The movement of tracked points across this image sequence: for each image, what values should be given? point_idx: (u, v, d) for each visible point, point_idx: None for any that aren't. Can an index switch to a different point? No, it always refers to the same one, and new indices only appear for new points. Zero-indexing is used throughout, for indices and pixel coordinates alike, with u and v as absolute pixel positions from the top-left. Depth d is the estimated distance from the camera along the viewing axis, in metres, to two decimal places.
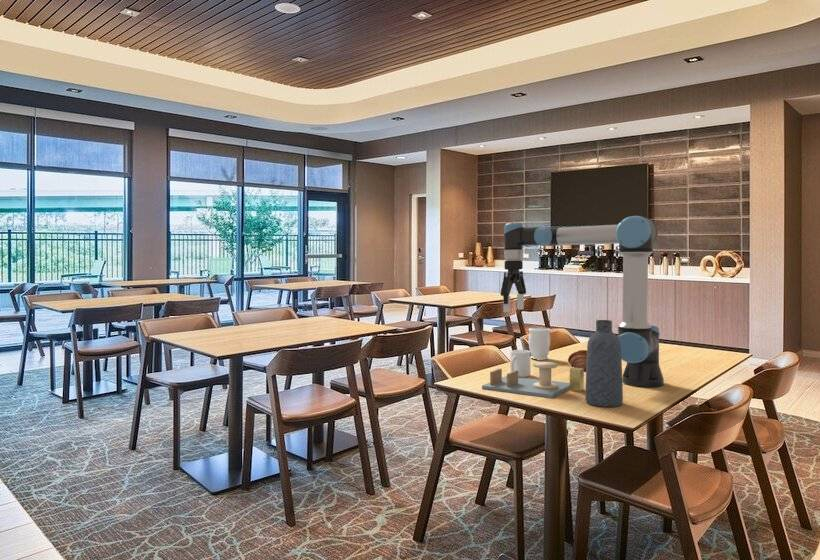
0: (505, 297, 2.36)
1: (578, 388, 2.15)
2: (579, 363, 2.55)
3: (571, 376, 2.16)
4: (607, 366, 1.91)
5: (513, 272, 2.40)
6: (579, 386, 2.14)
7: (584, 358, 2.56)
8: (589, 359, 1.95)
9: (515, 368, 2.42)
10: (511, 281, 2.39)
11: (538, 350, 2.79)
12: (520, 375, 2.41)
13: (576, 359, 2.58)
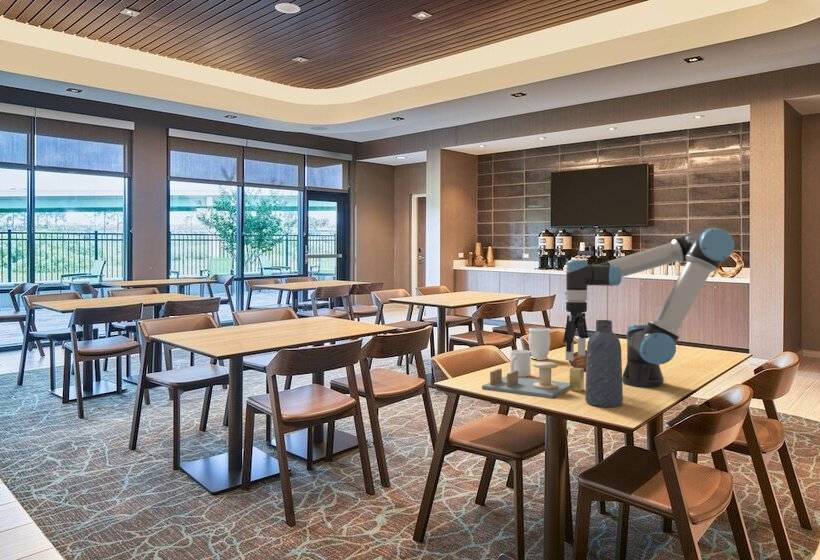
0: (568, 344, 2.09)
1: (578, 388, 2.15)
2: (579, 363, 2.54)
3: (571, 376, 2.16)
4: (607, 366, 1.91)
5: (577, 315, 2.13)
6: (579, 386, 2.14)
7: (584, 358, 2.55)
8: (589, 359, 1.95)
9: (515, 368, 2.42)
10: (574, 325, 2.12)
11: (538, 350, 2.79)
12: (520, 375, 2.41)
13: (576, 359, 2.57)
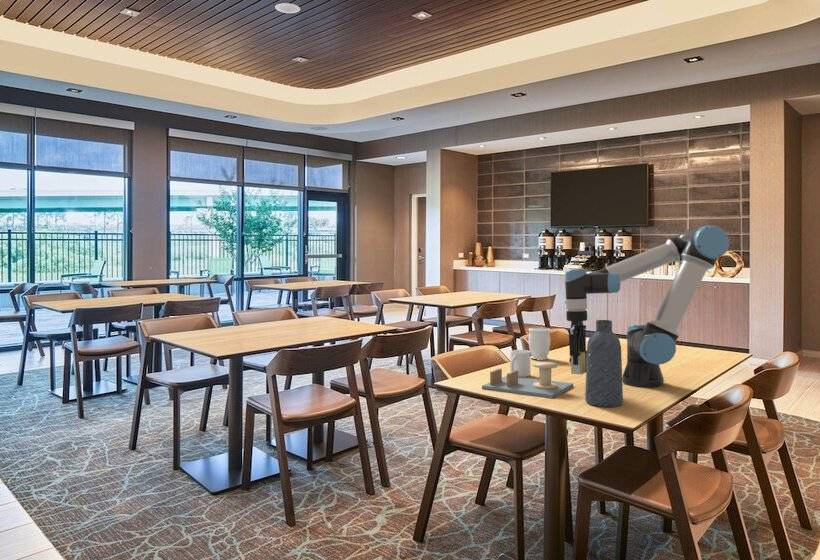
0: (575, 357, 2.13)
1: (580, 371, 2.14)
2: None
3: None
4: (607, 366, 1.91)
5: (577, 324, 2.13)
6: (581, 369, 2.14)
7: (585, 358, 2.55)
8: (589, 359, 1.95)
9: (515, 368, 2.42)
10: (577, 337, 2.14)
11: (538, 350, 2.79)
12: (520, 375, 2.41)
13: None
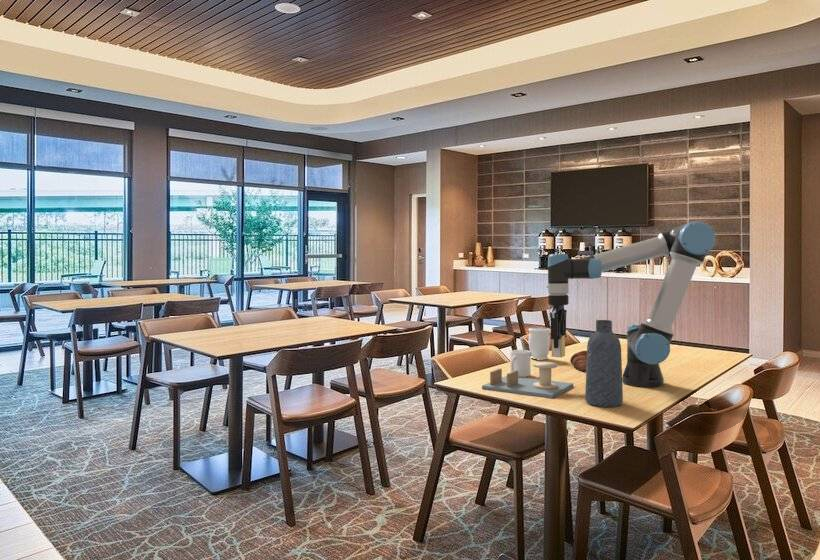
0: (555, 341, 2.17)
1: None
2: (580, 364, 2.53)
3: None
4: (607, 366, 1.91)
5: (558, 308, 2.17)
6: (561, 352, 2.18)
7: (586, 359, 2.54)
8: (589, 359, 1.95)
9: (515, 368, 2.42)
10: (558, 321, 2.18)
11: (538, 350, 2.79)
12: (520, 375, 2.41)
13: (578, 360, 2.56)
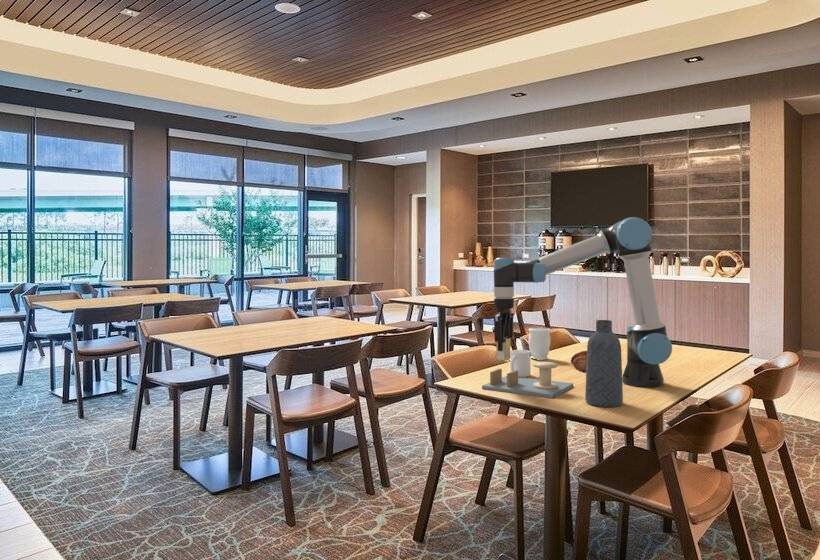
0: (499, 344, 2.19)
1: None
2: (581, 364, 2.53)
3: None
4: (607, 366, 1.91)
5: (503, 311, 2.19)
6: (505, 355, 2.20)
7: (586, 359, 2.54)
8: (589, 359, 1.95)
9: (515, 368, 2.42)
10: (503, 324, 2.20)
11: (538, 350, 2.79)
12: (520, 375, 2.41)
13: (578, 360, 2.56)
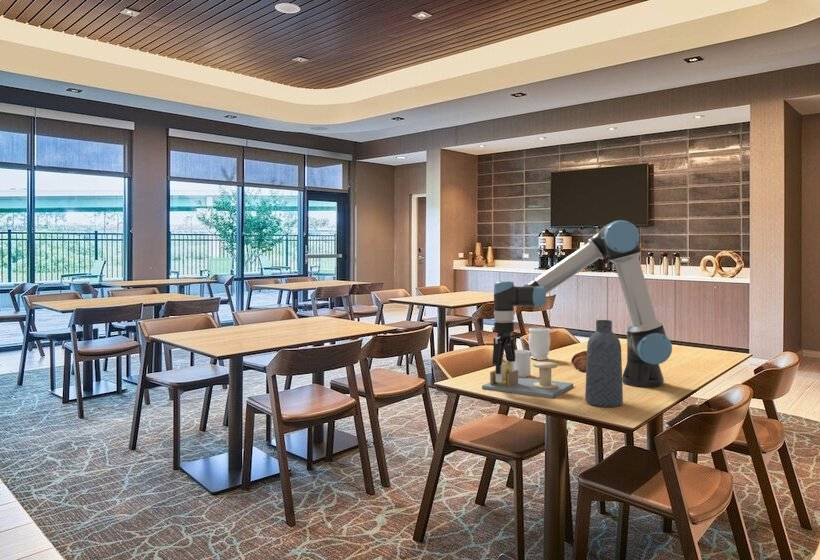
0: (497, 367, 2.18)
1: (504, 382, 2.21)
2: (581, 364, 2.52)
3: None
4: (607, 366, 1.91)
5: (503, 335, 2.19)
6: (505, 380, 2.21)
7: (586, 359, 2.53)
8: (589, 359, 1.95)
9: (515, 368, 2.42)
10: (502, 347, 2.19)
11: (538, 350, 2.79)
12: (520, 375, 2.41)
13: (579, 360, 2.55)
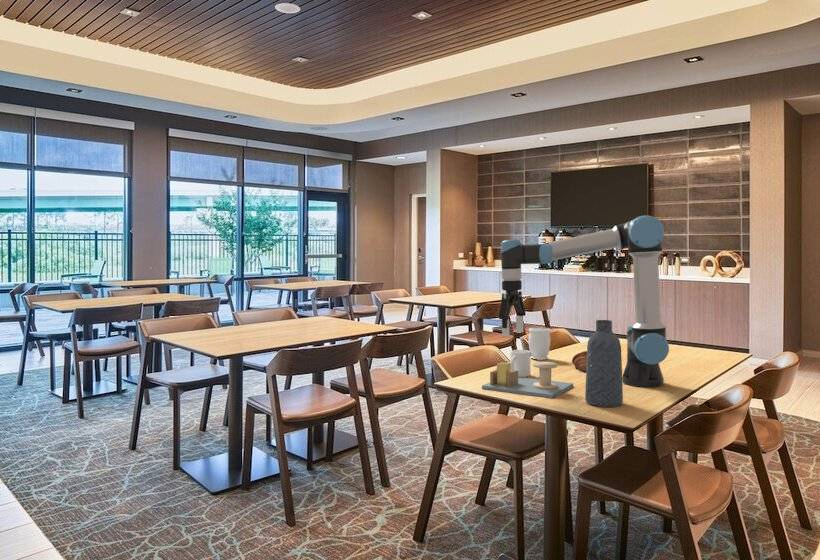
0: (504, 321, 2.18)
1: (504, 382, 2.21)
2: (581, 364, 2.52)
3: (498, 370, 2.22)
4: (607, 366, 1.91)
5: (512, 293, 2.22)
6: (505, 380, 2.21)
7: None
8: (589, 359, 1.95)
9: (515, 368, 2.42)
10: (510, 303, 2.20)
11: (538, 350, 2.79)
12: (520, 375, 2.41)
13: (579, 360, 2.55)
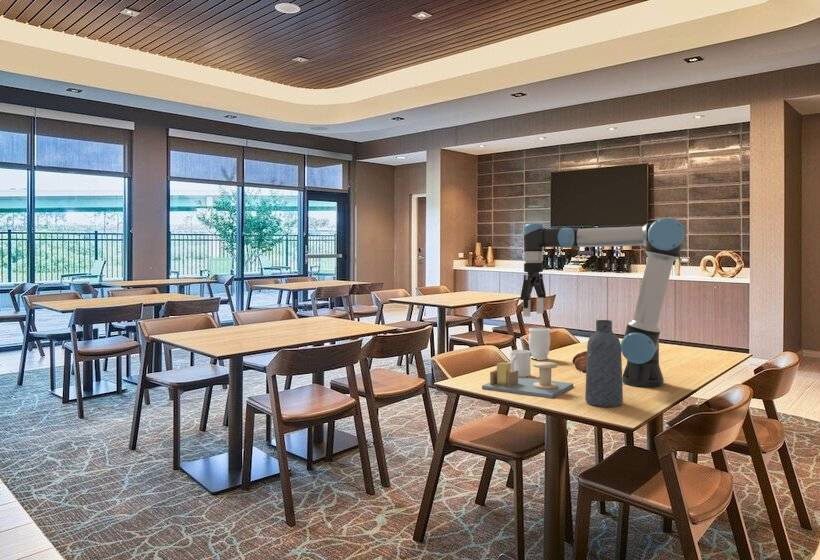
0: (525, 301, 2.26)
1: (504, 382, 2.21)
2: (582, 364, 2.51)
3: (498, 370, 2.22)
4: (607, 366, 1.91)
5: (533, 275, 2.30)
6: (505, 380, 2.21)
7: None
8: (589, 359, 1.95)
9: (515, 368, 2.42)
10: (531, 284, 2.29)
11: (538, 350, 2.79)
12: (520, 375, 2.41)
13: (579, 360, 2.55)
